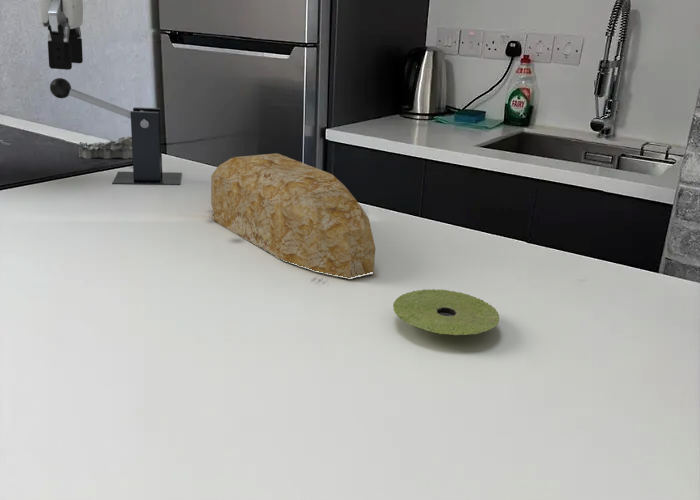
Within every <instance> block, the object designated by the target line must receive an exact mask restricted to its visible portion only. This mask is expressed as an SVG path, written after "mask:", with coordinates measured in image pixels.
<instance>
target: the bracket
mask: <svg viewBox="0 0 700 500" xmlns="http://www.w3.org/2000/svg"><path fill="white" fill-rule="evenodd" d="M141 110H142V111H141ZM130 111H131V112H130V113H131V119H130V131H131V132H130V133H131V137H132V156H133V157H132V171H117V172H116V174H115V176H114V178H113V180H112V182H111V185H124V186H125V185H127V186H129V185H130V186H131V185H132V186H135V185H136V186H138V185H139V186H143V185H145V186H181V182H182V176H183V173H182V172H176V171H175V172H174V171H173V172H170V171H169V172H168V171H167V172H166V171H165V172H164V171H163V151H162V149H163V147H162V146H163V145H162V117H161V108H160V107H139V106H138V107H137V106H136V107H135V106H134V107H133V108H132V110H130ZM143 111H145V112H143Z"/></svg>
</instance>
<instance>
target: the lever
mask: <svg viewBox="0 0 700 500" xmlns="http://www.w3.org/2000/svg"><path fill="white" fill-rule="evenodd" d="M49 91H50V93H51V94H52V95H53V96H54V97H55V98H57V99H66V98H68V97H73V98H75V99H78V100H81V101H83V102H86V103H87V104H90V105H93V106H97V107H99V108H101V109H103V110H106V111H110V112H112V113H114V114H117V115H120V116H123V117H125V118H128V119H130V120H131V113H130V112H131V111H132V110H128V109H126V108H123V107H121V106H119V105H116V104H113V103H110V102H108V101H106V100H103V99H100V98H98V97H95V96H92V95H89V94H87V93H85V92H81V91H79V90H77V89H73V88H72V85H71V83H70V82H69V81H68V80H67V79H65V78H63V77H57V78H55V79H52V81H51V82H50V85H49ZM141 111H142V110H141ZM143 112H145V111H143Z"/></svg>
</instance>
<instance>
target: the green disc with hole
mask: <svg viewBox="0 0 700 500" xmlns="http://www.w3.org/2000/svg"><path fill="white" fill-rule="evenodd" d="M392 304H393V305H392V307H393V312H394V313H395V315H396V316H397V317H398V318H399V319H400V320H401V321H403V322H404V323H406V324H408V325H410V326H414V327H416V328H418V329H421V330H424V331H427V332H428V331H429V332H431V333H436V334H439V335H453V336H467V335H479V334H482V333H485V332H487V331H490V330H492V329H494V328H495V327H497V326H498V324H499V322H500V319H501V317H500V313H499V312H498V311H497V309H496V308H495V306H493V305H492V304H489V303H488V302H487V301H484V300H483V299H480V298H477V297H476V296H473V295H470V294H468V293H464V292H459V291H454V290H448V289H433V288H432V289H421V290H420V289H417V290H413V291H409V292H406V293H404V294H401V295H399V296H398V297H397V298H395V300H394V301H393V303H392Z"/></svg>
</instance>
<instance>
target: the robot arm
mask: <svg viewBox="0 0 700 500" xmlns="http://www.w3.org/2000/svg"><path fill="white" fill-rule="evenodd" d="M38 9H39V10H38V11H39V14H38V15H39V17H38V18H39V24H40V25H41V26H42V27H43V28H47V54H48V67H49V69H52V70H67V71H70V70H71V69H72V68H73V64H82V63H83V61H84V57H83V38H82V30H81V26H82V25H83V22H84V3H83V0H38Z"/></svg>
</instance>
